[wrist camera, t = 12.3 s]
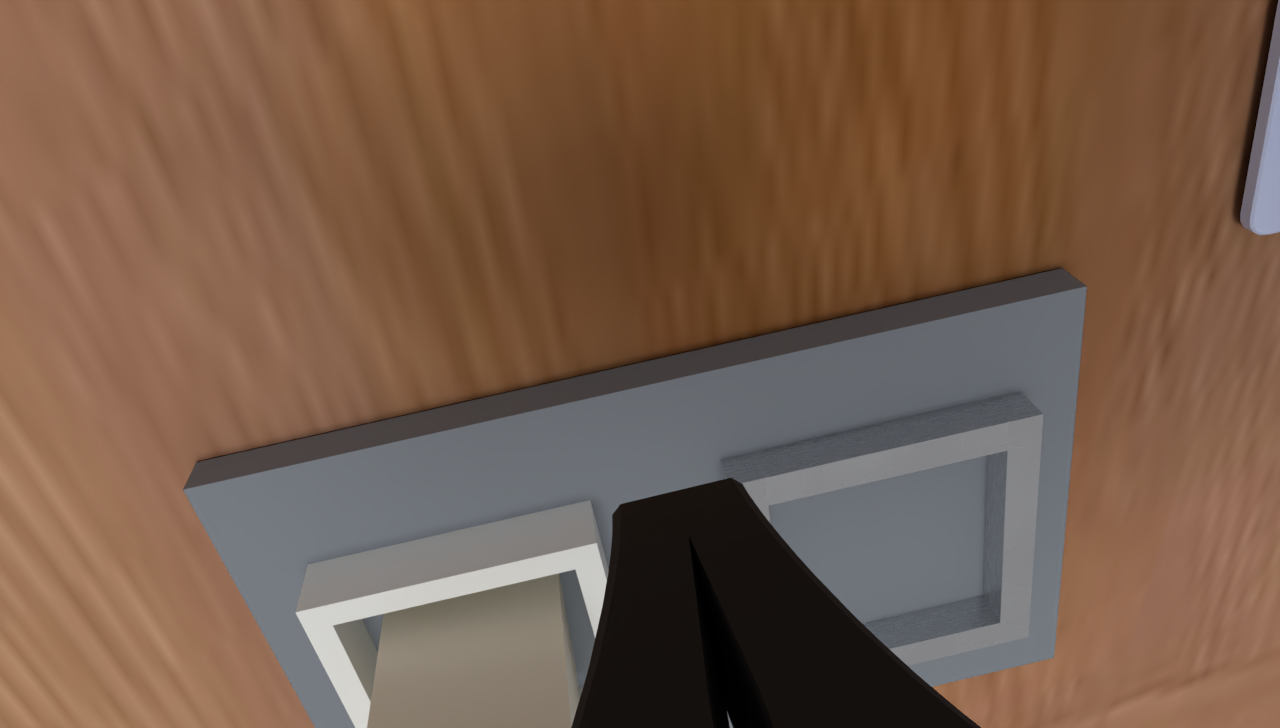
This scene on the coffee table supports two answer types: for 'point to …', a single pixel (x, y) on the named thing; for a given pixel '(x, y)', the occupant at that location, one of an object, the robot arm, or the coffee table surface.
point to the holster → (918, 444)
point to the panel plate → (685, 467)
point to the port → (439, 584)
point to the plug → (478, 662)
